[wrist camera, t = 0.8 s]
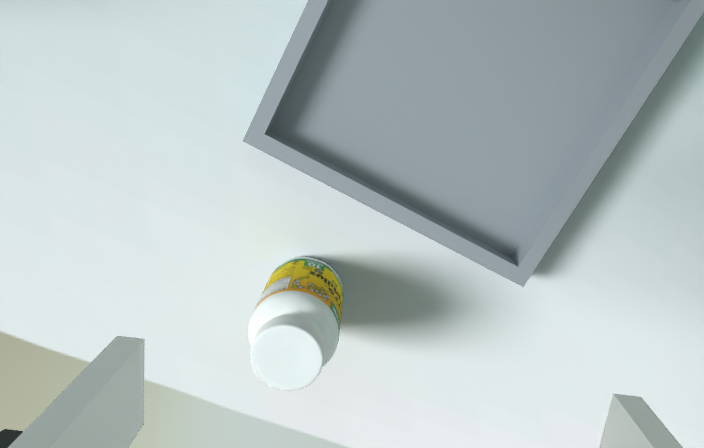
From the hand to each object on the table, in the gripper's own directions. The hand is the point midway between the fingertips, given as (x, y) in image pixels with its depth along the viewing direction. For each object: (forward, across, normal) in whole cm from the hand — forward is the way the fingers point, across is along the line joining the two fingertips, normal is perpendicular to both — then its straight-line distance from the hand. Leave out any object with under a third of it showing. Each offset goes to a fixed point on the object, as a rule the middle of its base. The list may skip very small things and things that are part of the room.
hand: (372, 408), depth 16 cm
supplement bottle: (+23, -4, -6) cm, 24 cm away
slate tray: (+23, +4, +10) cm, 25 cm away
